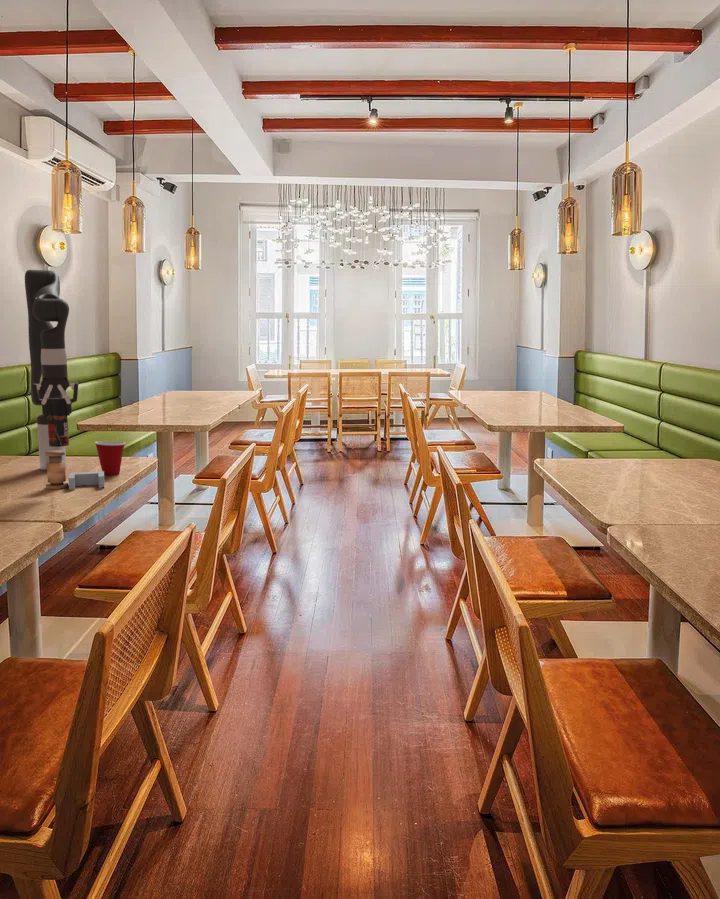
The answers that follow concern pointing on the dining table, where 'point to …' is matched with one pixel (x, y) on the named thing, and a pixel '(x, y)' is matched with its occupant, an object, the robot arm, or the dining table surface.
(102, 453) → the plastic cup
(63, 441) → the deodorant
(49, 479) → the bobbin
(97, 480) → the notch board
